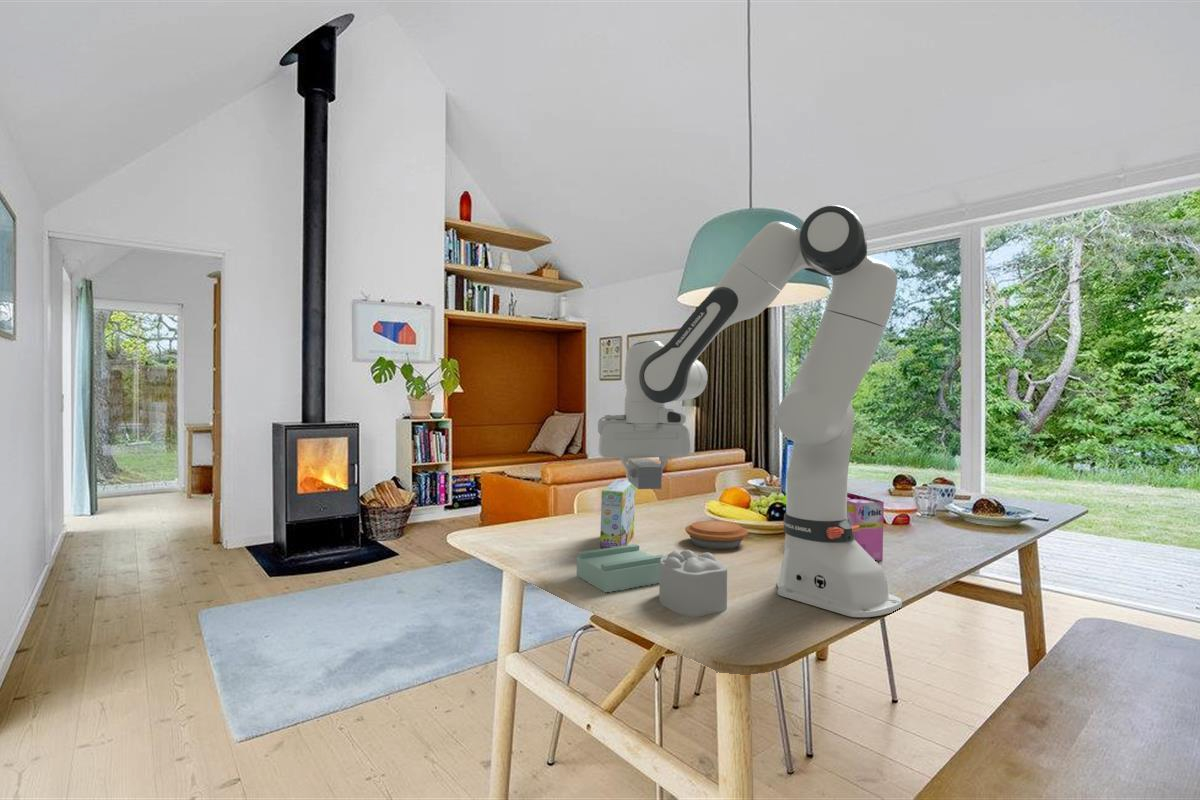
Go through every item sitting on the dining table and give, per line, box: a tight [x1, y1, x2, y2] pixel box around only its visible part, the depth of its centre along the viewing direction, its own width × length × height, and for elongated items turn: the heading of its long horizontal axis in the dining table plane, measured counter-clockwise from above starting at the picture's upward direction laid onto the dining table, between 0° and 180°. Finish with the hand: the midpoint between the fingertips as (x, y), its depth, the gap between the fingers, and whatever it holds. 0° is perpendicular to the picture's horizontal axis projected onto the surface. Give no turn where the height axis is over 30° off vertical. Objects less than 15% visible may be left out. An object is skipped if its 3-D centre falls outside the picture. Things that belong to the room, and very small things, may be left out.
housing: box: [627, 458, 663, 490], centre depth 132 cm, size 12×5×5 cm, turn 7°
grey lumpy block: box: [658, 549, 728, 618], centre depth 108 cm, size 10×13×9 cm
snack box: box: [599, 478, 636, 549], centre depth 148 cm, size 21×6×15 cm, turn 168°
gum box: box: [847, 492, 885, 561], centre depth 146 cm, size 24×8×14 cm, turn 15°
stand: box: [576, 543, 664, 594], centre depth 121 cm, size 12×14×5 cm
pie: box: [684, 520, 749, 550], centre depth 150 cm, size 15×16×5 cm
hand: (644, 477), depth 132 cm, fingers closed on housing, 5 cm apart
